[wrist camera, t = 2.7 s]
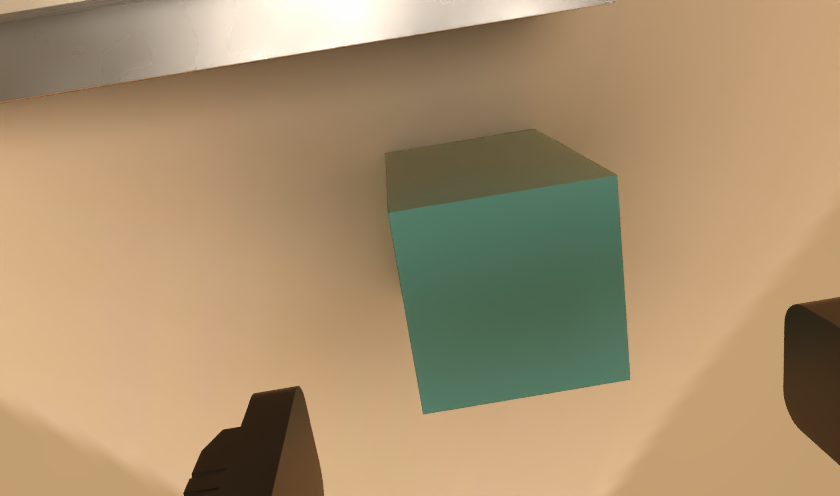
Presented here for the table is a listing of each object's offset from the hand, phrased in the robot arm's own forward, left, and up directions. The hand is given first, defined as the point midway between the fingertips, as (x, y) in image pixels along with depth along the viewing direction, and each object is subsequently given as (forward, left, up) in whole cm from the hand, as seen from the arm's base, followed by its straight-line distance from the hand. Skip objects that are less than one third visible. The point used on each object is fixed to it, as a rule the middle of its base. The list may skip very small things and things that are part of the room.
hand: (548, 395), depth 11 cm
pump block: (0, 0, -12) cm, 12 cm away
